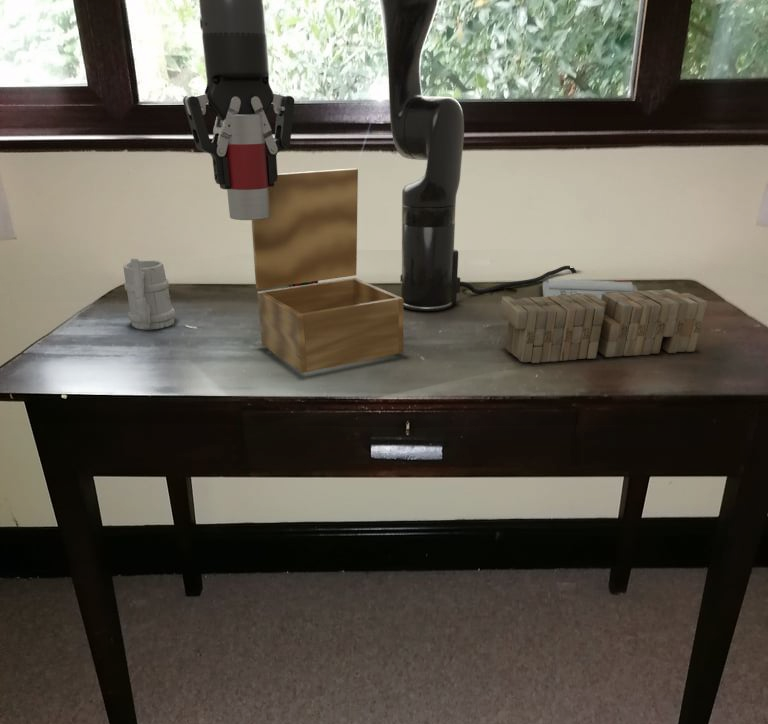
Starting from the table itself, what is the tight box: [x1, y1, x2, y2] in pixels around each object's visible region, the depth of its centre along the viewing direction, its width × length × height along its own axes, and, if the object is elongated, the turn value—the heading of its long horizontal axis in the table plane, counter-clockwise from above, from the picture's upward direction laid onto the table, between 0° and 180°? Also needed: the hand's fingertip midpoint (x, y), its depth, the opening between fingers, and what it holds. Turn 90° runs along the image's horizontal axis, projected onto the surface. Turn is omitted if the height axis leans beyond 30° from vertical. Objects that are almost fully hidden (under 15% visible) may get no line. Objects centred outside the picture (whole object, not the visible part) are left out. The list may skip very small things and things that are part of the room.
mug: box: [122, 258, 176, 331], centre depth 119 cm, size 8×12×12 cm, turn 7°
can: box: [220, 114, 270, 221], centre depth 93 cm, size 5×5×12 cm
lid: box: [251, 167, 359, 290], centre depth 108 cm, size 15×17×5 cm
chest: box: [256, 277, 404, 374], centre depth 108 cm, size 15×17×9 cm
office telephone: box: [542, 278, 639, 299], centre depth 132 cm, size 23×3×20 cm
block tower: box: [499, 288, 708, 364], centre depth 108 cm, size 8×8×29 cm
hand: (247, 186), depth 94 cm, fingers closed on can, 5 cm apart
